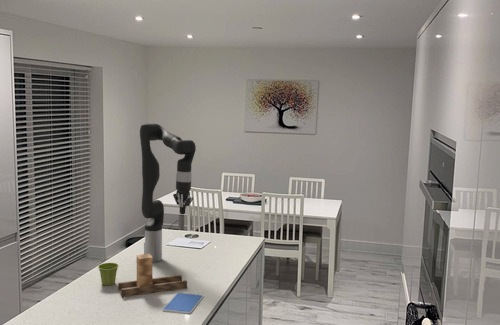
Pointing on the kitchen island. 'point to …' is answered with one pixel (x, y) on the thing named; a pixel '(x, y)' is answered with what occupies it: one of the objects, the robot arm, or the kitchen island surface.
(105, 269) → the plant pot
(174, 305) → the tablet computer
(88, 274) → the kitchen island surface
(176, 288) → the chute
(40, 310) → the kitchen island surface
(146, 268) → the block
